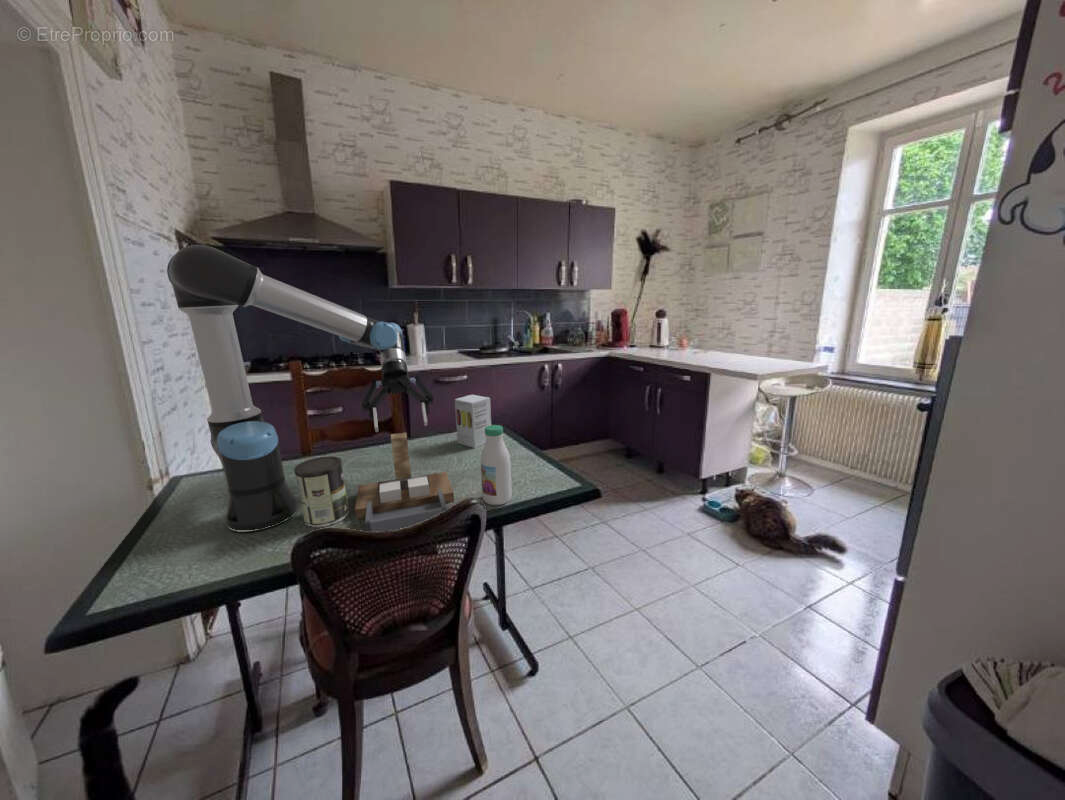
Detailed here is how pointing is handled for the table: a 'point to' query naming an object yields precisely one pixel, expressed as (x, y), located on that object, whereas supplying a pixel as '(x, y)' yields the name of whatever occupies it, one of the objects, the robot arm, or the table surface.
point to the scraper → (401, 461)
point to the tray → (402, 515)
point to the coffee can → (322, 491)
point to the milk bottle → (495, 468)
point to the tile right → (418, 487)
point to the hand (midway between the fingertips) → (401, 426)
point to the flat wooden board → (402, 496)
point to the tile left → (390, 492)
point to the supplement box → (472, 419)
